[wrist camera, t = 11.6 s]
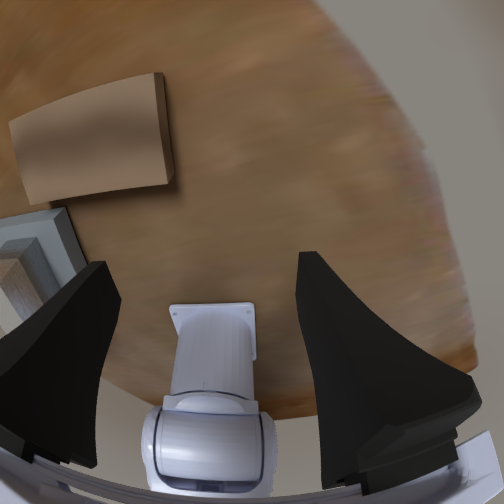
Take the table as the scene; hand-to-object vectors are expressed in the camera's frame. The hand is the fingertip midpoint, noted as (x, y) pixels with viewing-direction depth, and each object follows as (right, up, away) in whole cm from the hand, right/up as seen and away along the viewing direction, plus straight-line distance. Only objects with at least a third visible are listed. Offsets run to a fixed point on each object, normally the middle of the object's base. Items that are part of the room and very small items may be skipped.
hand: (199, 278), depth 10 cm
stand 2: (-9, +9, +6) cm, 14 cm away
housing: (-18, -2, +11) cm, 21 cm away
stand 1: (-18, 0, +12) cm, 22 cm away
